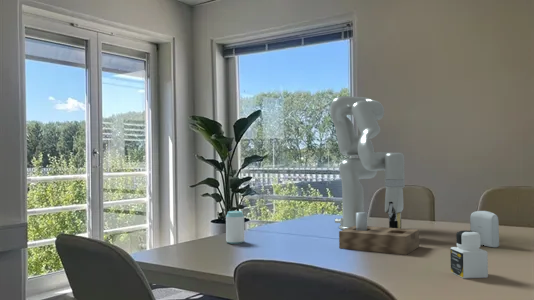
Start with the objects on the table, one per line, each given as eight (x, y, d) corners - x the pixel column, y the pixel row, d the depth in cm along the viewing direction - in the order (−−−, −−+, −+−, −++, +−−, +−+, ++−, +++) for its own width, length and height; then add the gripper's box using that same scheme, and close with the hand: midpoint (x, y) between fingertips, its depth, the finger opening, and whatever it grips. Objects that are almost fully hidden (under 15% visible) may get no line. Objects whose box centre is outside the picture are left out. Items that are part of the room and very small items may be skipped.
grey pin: (354, 240, 173) (354, 213, 173) (358, 238, 176) (358, 212, 177) (365, 241, 171) (364, 213, 171) (369, 239, 174) (368, 212, 174)
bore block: (339, 248, 170) (339, 231, 170) (355, 240, 183) (355, 225, 183) (406, 254, 157) (406, 236, 157) (419, 246, 171) (418, 229, 171)
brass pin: (388, 238, 187) (388, 213, 187) (391, 236, 190) (391, 211, 190) (399, 239, 185) (398, 213, 185) (401, 237, 188) (401, 212, 188)
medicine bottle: (450, 272, 134) (449, 229, 134) (474, 271, 134) (473, 228, 134) (462, 278, 126) (462, 233, 127) (488, 277, 127) (487, 233, 127)
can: (247, 241, 186) (247, 210, 186) (239, 244, 179) (238, 212, 180) (231, 240, 189) (231, 210, 189) (222, 243, 182) (222, 212, 183)
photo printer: (468, 243, 175) (468, 210, 175) (476, 242, 177) (476, 209, 177) (492, 248, 166) (492, 212, 166) (501, 247, 168) (500, 212, 168)
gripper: (391, 182, 197) (392, 226, 197) (378, 185, 182) (379, 232, 182) (410, 182, 193) (410, 227, 193) (398, 185, 178) (398, 234, 178)
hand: (395, 229), depth 187 cm, fingers closed on brass pin, 4 cm apart
